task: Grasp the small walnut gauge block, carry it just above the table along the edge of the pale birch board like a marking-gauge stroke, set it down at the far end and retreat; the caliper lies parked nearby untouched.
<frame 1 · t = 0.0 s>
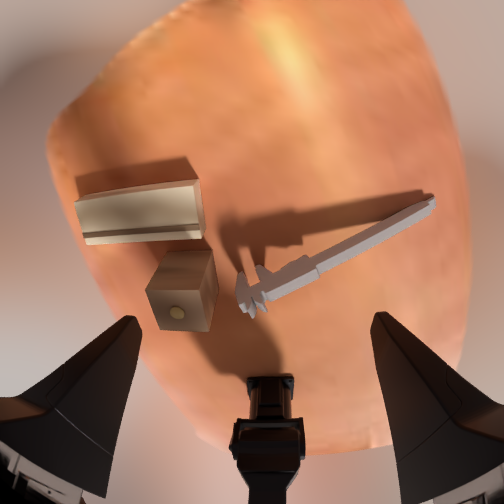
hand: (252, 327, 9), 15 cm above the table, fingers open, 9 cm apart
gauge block: (193, 270, 26), on the table
board: (140, 209, 23), on the table
caliper: (340, 235, 24), on the table
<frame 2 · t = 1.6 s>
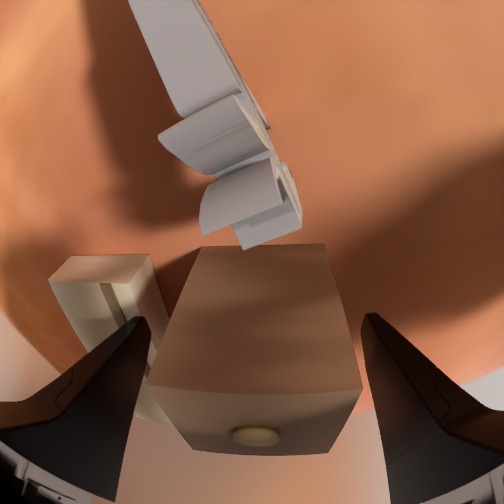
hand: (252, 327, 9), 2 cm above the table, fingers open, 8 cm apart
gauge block: (264, 293, 11), on the table
board: (144, 348, 14), on the table
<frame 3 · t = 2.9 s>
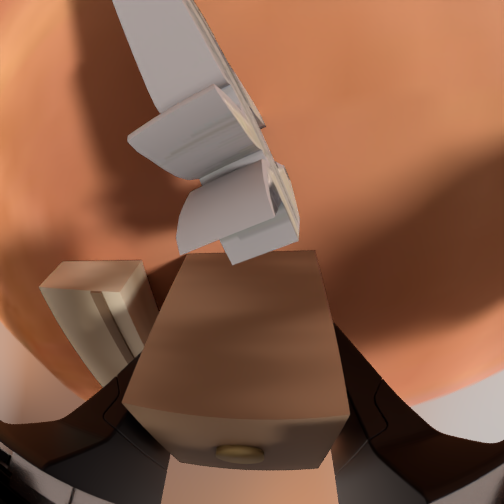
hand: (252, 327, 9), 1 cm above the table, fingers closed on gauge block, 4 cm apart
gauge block: (253, 302, 11), on the table, touching gripper
board: (139, 354, 13), on the table
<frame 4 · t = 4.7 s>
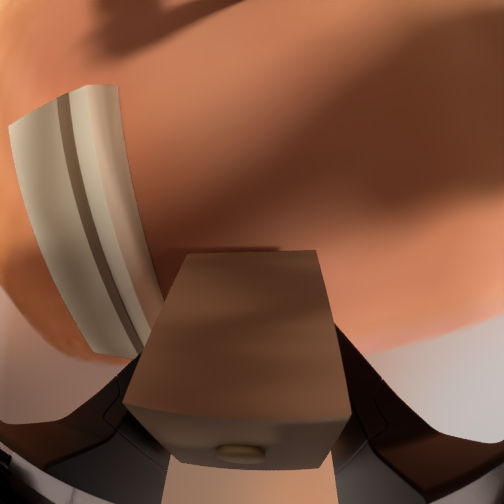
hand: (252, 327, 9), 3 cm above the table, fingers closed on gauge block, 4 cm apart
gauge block: (254, 301, 11), point 1 cm above the table, touching gripper
board: (100, 233, 11), on the table
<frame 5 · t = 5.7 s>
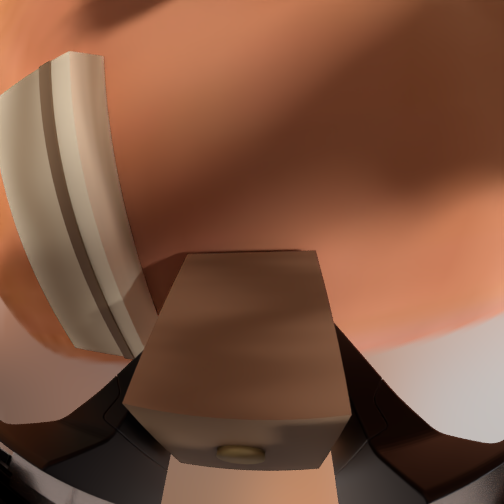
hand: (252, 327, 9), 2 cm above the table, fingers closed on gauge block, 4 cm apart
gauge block: (254, 302, 11), on the table, touching gripper
board: (82, 216, 10), on the table
when the fingers open (1 cm above the table, at t = 6.5 s): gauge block stays where it is, on the table.
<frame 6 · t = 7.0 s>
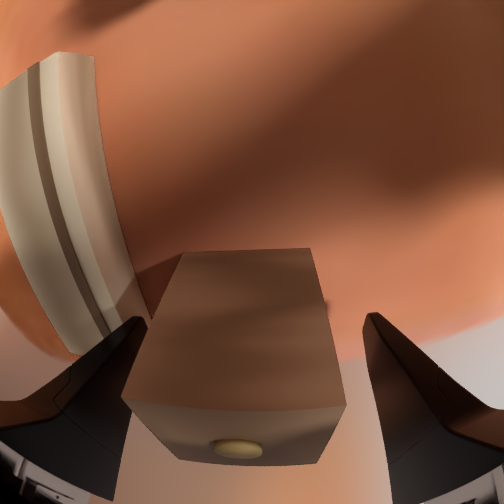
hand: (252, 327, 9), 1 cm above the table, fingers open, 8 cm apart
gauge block: (249, 299, 11), on the table
board: (74, 220, 9), on the table
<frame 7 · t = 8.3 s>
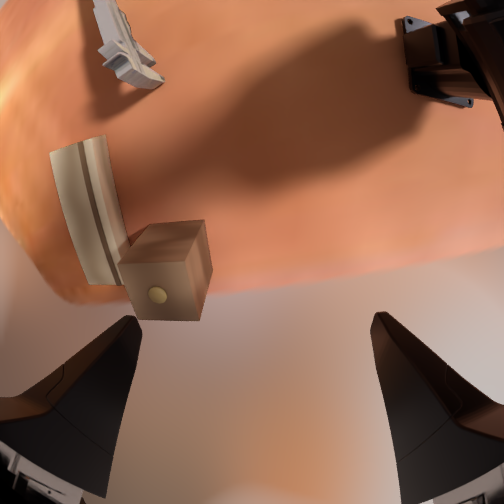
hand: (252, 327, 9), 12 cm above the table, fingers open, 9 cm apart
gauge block: (181, 247, 21), on the table
board: (98, 210, 20), on the table
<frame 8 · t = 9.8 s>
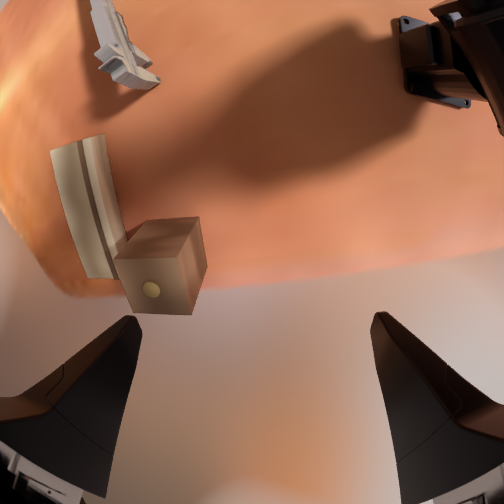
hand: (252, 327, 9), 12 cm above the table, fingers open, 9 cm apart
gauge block: (177, 243, 22), on the table
board: (97, 206, 20), on the table
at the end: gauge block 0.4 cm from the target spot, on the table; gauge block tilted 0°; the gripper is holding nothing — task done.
